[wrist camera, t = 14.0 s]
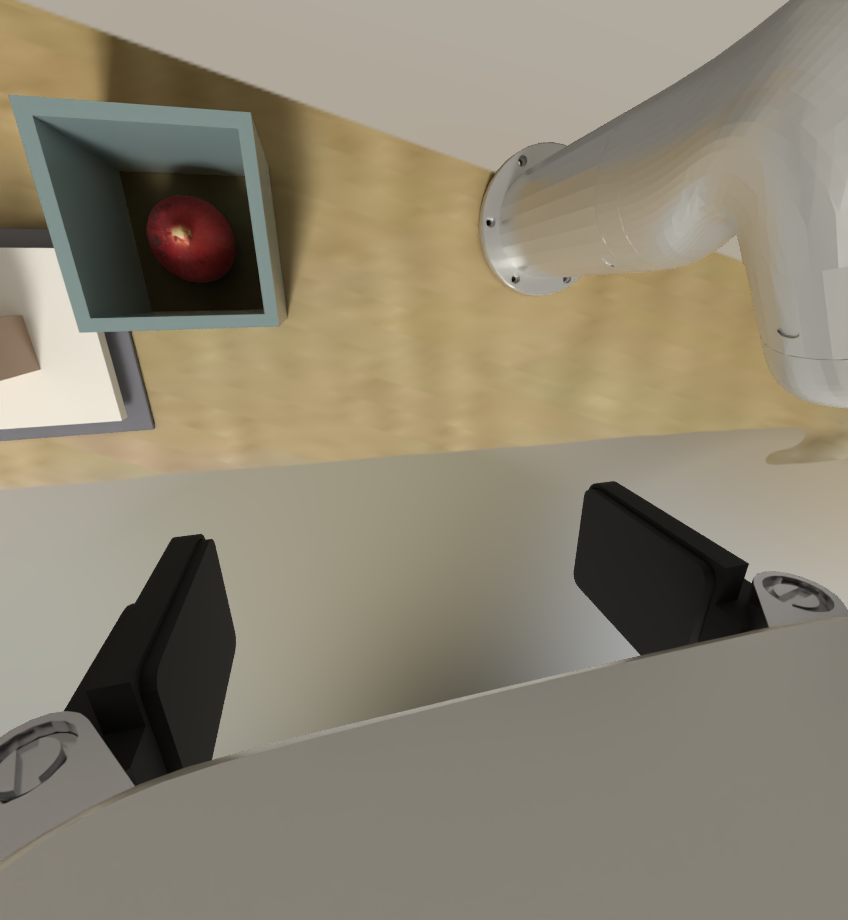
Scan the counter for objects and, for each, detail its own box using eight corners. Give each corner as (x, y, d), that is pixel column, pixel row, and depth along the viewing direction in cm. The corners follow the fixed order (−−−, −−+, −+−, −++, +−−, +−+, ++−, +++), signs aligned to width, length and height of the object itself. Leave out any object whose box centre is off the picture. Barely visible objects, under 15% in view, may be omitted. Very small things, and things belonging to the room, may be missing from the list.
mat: (104, 230, 33) (101, 229, 33) (154, 428, 39) (153, 429, 39) (-158, 226, 30) (-164, 225, 29) (-59, 444, 35) (-63, 445, 35)
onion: (175, 285, 35) (139, 283, 28) (155, 205, 33) (112, 181, 26) (248, 282, 37) (233, 279, 29) (234, 205, 34) (214, 182, 27)
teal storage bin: (268, 165, 34) (250, 112, 24) (287, 318, 38) (279, 326, 28) (103, 157, 32) (8, 94, 22) (143, 321, 36) (79, 332, 26)
